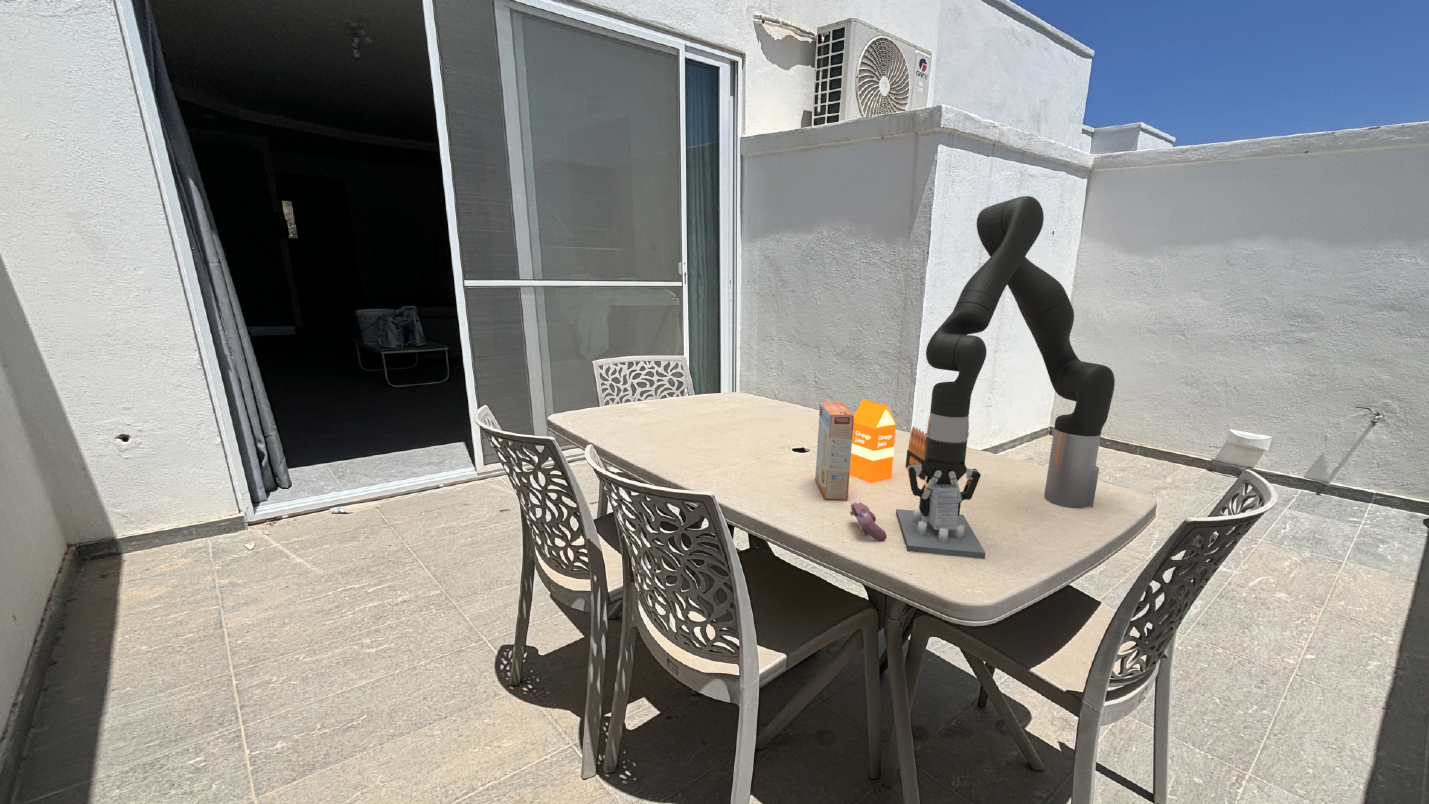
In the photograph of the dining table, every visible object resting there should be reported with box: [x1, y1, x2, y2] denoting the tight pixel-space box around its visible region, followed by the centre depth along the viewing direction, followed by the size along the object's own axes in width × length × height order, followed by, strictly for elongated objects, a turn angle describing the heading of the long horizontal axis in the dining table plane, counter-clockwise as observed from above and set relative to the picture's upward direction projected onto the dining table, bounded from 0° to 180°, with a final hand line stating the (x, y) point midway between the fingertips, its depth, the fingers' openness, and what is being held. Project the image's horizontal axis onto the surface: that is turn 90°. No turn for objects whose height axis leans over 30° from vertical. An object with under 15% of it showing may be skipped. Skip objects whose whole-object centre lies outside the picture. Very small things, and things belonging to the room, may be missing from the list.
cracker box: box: [814, 401, 854, 501], centre depth 139 cm, size 14×6×21 cm, turn 179°
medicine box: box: [922, 476, 961, 530], centre depth 116 cm, size 8×4×9 cm, turn 179°
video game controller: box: [849, 501, 887, 542], centre depth 118 cm, size 10×5×7 cm, turn 179°
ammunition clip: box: [905, 425, 927, 481], centre depth 153 cm, size 11×2×12 cm, turn 7°
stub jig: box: [895, 508, 987, 560], centre depth 117 cm, size 14×18×4 cm
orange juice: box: [849, 398, 897, 484], centre depth 150 cm, size 8×9×20 cm
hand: (938, 515), depth 116 cm, fingers closed on medicine box, 5 cm apart
